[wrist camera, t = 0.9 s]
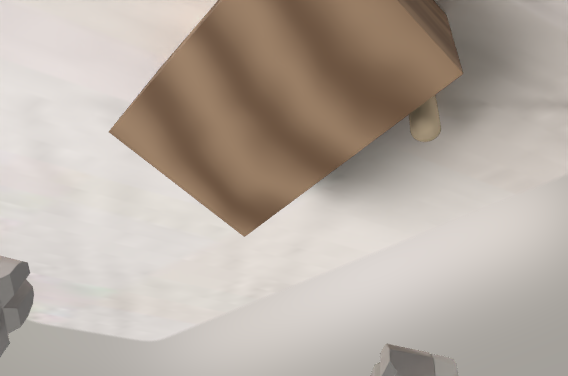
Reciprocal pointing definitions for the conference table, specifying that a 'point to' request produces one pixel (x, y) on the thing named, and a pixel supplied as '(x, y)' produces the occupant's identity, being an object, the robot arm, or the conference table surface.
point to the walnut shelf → (284, 96)
